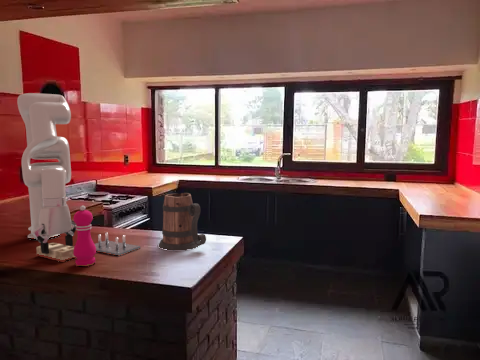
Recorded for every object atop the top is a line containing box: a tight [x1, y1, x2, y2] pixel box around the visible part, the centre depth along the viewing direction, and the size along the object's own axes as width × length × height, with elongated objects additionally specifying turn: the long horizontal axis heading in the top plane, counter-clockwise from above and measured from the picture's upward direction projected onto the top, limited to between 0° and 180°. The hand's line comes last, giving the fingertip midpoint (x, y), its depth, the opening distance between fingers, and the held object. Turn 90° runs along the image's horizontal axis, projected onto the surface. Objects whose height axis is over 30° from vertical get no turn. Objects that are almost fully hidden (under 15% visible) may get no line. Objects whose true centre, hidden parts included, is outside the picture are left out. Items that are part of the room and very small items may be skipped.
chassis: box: [94, 232, 141, 256], centre depth 151 cm, size 18×11×6 cm, turn 61°
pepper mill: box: [72, 205, 97, 265], centre depth 133 cm, size 7×7×20 cm
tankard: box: [158, 192, 207, 251], centre depth 154 cm, size 24×17×20 cm
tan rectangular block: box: [36, 242, 75, 260], centre depth 142 cm, size 14×7×4 cm, turn 61°
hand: (57, 250), depth 142 cm, fingers open, 9 cm apart
